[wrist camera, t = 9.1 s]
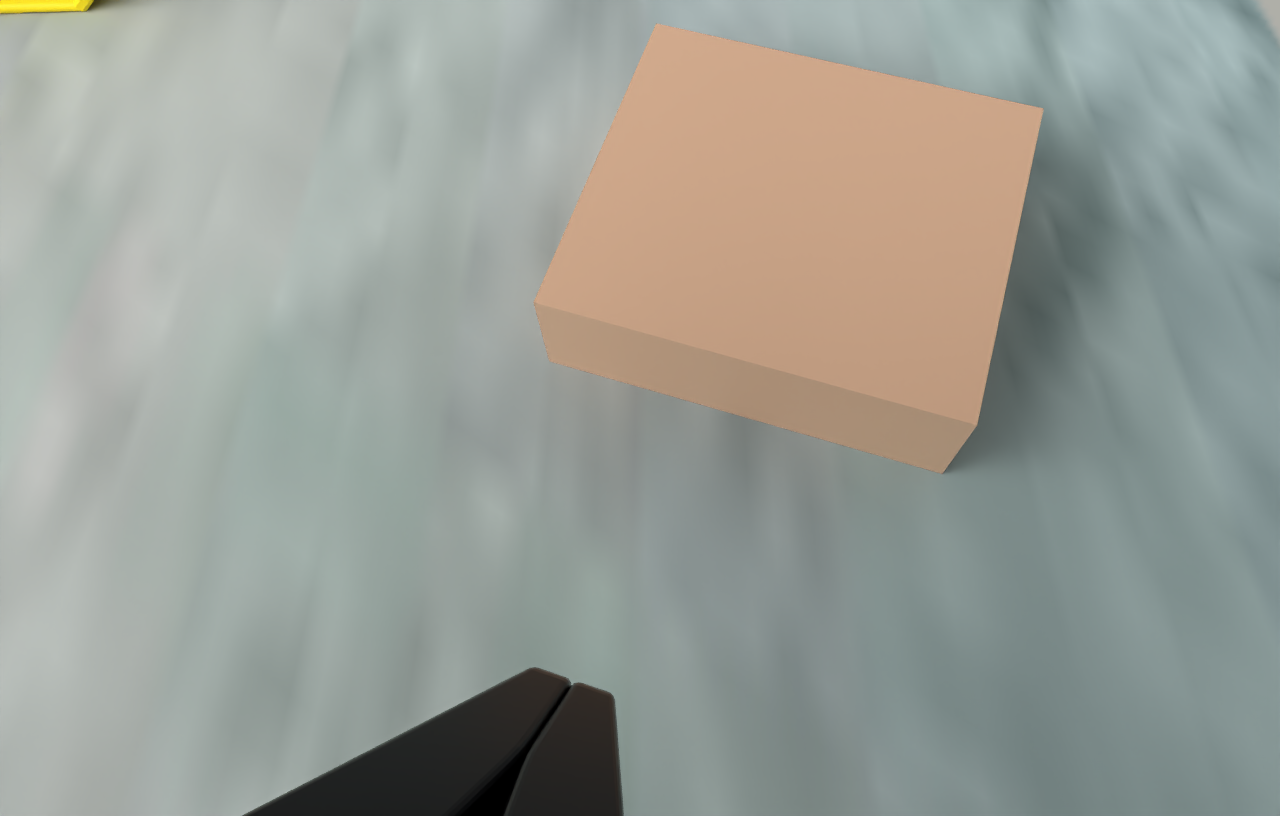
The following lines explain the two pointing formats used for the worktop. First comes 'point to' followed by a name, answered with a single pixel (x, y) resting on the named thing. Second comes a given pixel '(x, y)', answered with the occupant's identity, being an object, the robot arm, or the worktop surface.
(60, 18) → the worktop surface
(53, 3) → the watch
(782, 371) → the tile
